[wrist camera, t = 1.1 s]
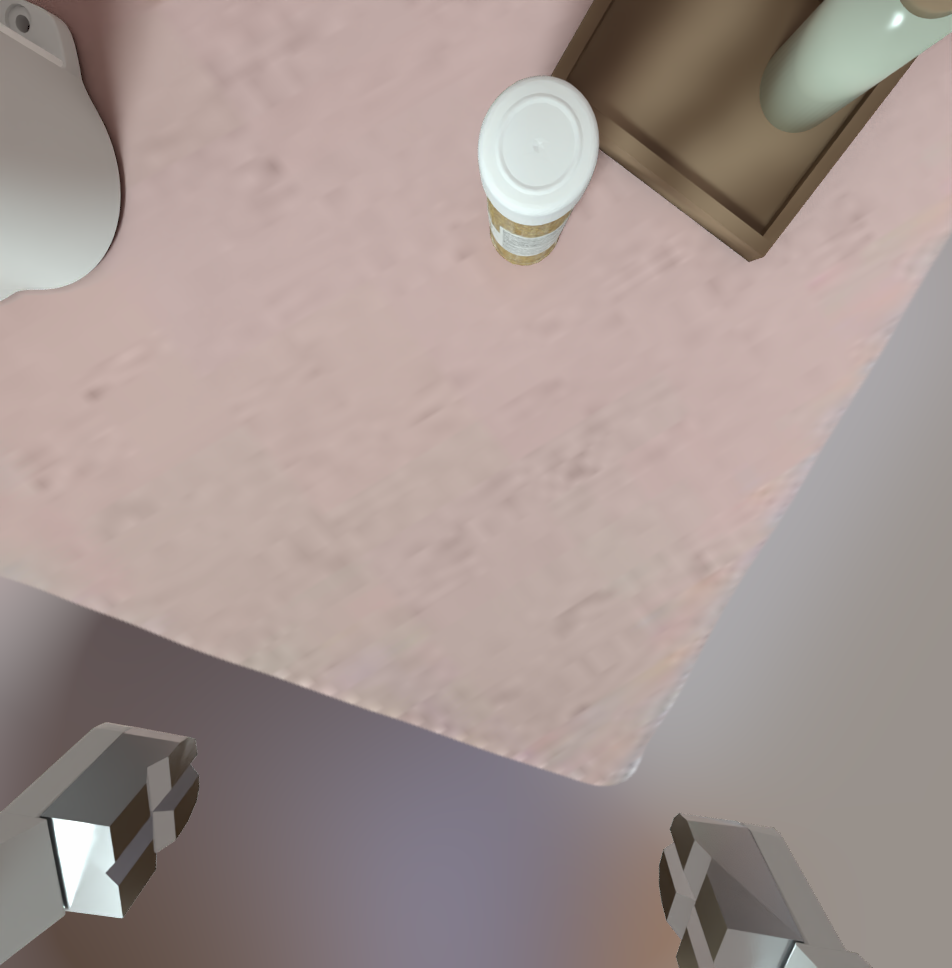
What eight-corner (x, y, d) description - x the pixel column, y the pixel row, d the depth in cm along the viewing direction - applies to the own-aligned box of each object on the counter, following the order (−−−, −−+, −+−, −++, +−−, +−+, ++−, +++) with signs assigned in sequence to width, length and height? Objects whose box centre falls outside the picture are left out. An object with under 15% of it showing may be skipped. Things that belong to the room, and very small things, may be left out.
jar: (741, 100, 27) (868, -30, 17) (801, 14, 26) (972, -177, 16) (803, 150, 27) (959, 49, 18) (865, 67, 26) (1067, -87, 17)
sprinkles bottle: (497, 181, 30) (490, 57, 17) (569, 196, 30) (617, 83, 17) (483, 260, 31) (466, 201, 18) (551, 274, 31) (583, 225, 18)
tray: (541, 104, 28) (543, 89, 27) (673, -125, 25) (685, -160, 23) (748, 261, 30) (763, 256, 28) (897, 65, 27) (925, 46, 25)
